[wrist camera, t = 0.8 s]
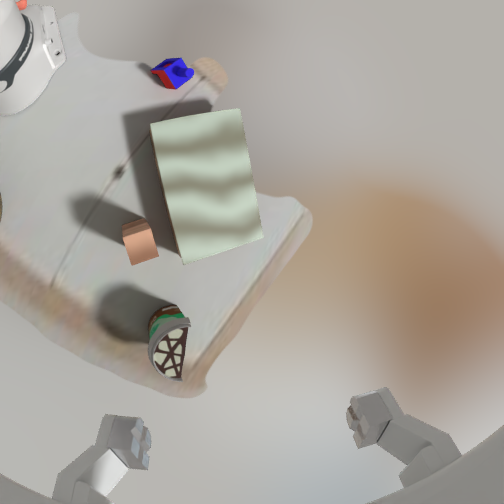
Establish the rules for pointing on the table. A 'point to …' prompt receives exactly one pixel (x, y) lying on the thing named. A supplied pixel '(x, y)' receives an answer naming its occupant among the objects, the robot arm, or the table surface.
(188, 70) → the toy building block
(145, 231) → the tall block
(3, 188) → the table surface
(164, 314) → the food container
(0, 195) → the jar
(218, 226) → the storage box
